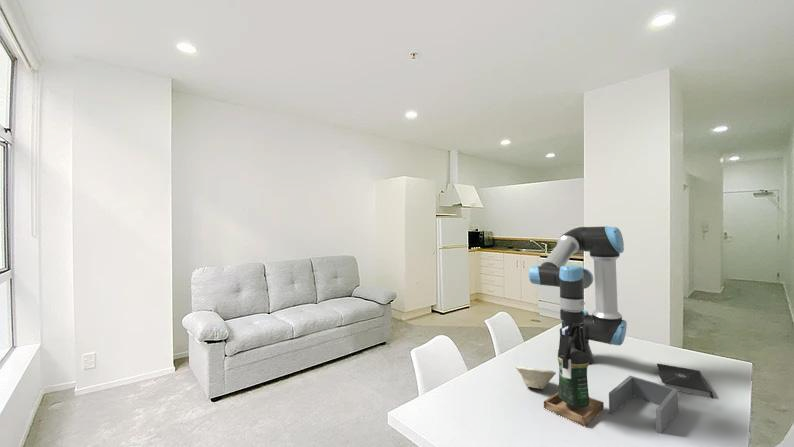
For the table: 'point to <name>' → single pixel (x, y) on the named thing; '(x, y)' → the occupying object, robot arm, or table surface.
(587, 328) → the robot arm
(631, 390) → the bay
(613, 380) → the table surface
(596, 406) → the tray
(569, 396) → the coffee jar
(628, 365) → the table surface
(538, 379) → the bowl
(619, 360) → the table surface
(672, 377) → the book
